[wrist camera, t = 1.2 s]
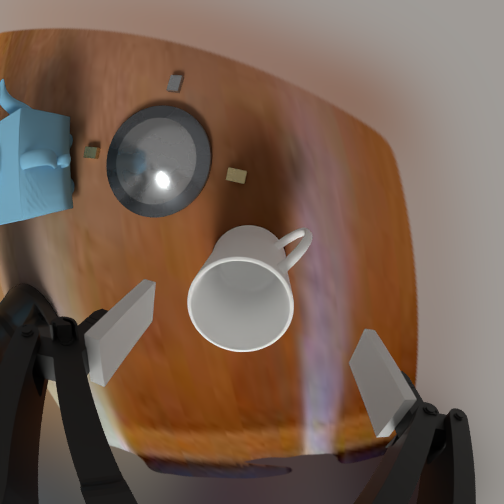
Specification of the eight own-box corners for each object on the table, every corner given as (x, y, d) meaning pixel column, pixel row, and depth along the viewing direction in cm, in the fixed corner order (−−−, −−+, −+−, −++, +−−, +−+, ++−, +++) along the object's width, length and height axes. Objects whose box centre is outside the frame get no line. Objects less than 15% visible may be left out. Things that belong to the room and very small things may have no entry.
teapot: (94, 204, 31) (24, 220, 18) (25, 216, 32) (-35, 234, 19) (94, 75, 26) (33, 47, 14) (23, 109, 27) (-34, 101, 15)
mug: (282, 193, 30) (294, 202, 18) (323, 255, 31) (354, 298, 20) (197, 252, 32) (162, 292, 20) (240, 308, 33) (228, 369, 22)
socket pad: (80, 200, 31) (76, 201, 30) (107, 76, 26) (102, 74, 25) (233, 234, 31) (232, 236, 30) (267, 89, 27) (267, 86, 26)
